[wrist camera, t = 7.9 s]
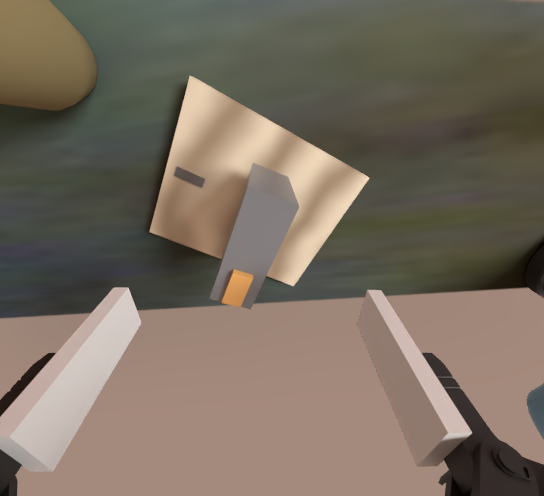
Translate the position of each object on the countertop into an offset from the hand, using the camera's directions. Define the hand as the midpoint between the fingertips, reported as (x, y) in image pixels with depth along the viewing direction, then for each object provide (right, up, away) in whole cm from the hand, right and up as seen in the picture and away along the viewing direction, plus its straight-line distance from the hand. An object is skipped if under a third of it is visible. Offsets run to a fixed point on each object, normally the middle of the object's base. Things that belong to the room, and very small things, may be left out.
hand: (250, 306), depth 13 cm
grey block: (-1, +7, +11) cm, 13 cm away
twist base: (-1, +9, +15) cm, 18 cm away
